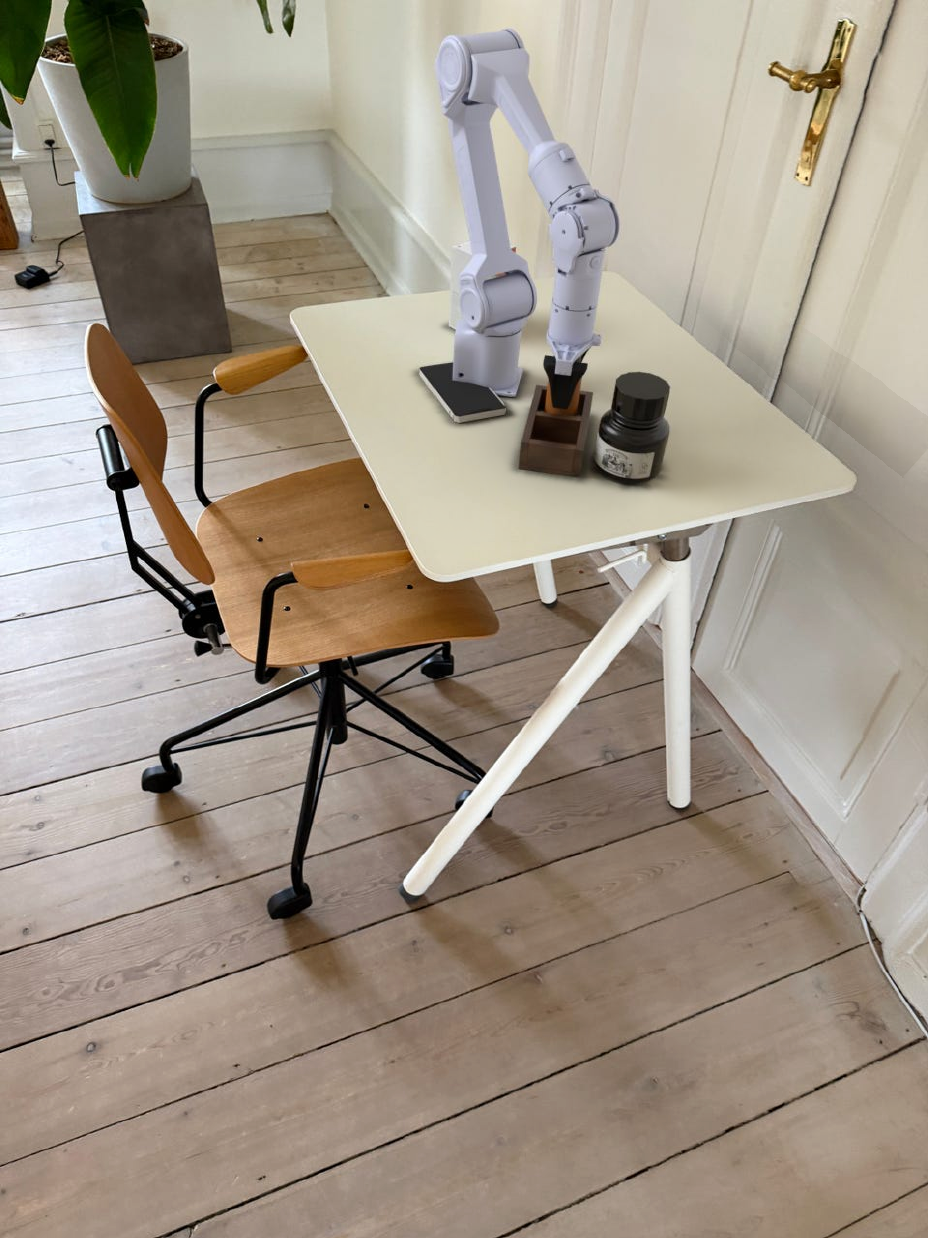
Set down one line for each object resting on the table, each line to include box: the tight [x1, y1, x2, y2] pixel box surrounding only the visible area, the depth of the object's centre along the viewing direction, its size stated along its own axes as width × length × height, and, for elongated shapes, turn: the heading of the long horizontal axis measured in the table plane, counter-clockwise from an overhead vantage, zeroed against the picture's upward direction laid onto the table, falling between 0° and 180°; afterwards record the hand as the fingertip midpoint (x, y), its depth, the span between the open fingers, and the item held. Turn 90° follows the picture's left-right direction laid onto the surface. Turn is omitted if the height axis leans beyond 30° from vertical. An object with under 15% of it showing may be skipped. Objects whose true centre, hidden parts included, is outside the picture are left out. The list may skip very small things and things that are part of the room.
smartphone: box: [419, 361, 507, 424], centre depth 134 cm, size 8×1×15 cm
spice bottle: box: [545, 356, 583, 416], centre depth 124 cm, size 4×4×10 cm
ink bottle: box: [593, 371, 671, 485], centre depth 118 cm, size 10×9×12 cm
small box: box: [448, 240, 517, 331], centre depth 146 cm, size 8×6×13 cm
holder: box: [518, 384, 594, 478], centre depth 125 cm, size 8×15×4 cm, turn 169°
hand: (562, 397), depth 125 cm, fingers closed on spice bottle, 4 cm apart
